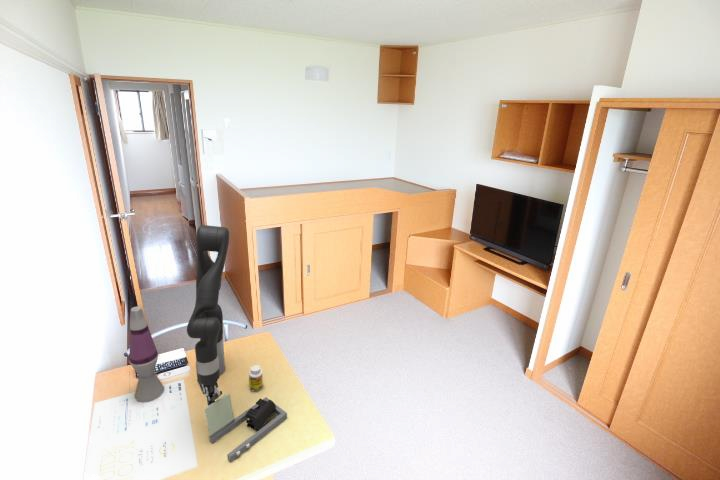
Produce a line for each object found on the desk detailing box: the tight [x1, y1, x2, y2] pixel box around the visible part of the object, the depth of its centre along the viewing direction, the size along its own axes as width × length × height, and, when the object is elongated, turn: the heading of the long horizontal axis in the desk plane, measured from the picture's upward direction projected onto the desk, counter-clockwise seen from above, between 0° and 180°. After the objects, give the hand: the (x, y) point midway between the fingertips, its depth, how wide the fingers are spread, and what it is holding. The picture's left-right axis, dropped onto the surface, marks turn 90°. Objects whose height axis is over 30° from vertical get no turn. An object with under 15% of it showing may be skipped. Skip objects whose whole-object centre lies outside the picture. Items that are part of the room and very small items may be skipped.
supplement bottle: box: [248, 364, 264, 392], centre depth 160 cm, size 6×6×10 cm
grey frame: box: [208, 396, 288, 463], centre depth 141 cm, size 13×26×2 cm, turn 142°
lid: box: [203, 392, 235, 437], centre depth 137 cm, size 12×10×1 cm
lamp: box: [128, 305, 165, 403], centre depth 149 cm, size 11×11×40 cm
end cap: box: [245, 398, 276, 431], centre depth 145 cm, size 10×7×7 cm
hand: (211, 405), depth 139 cm, fingers closed
